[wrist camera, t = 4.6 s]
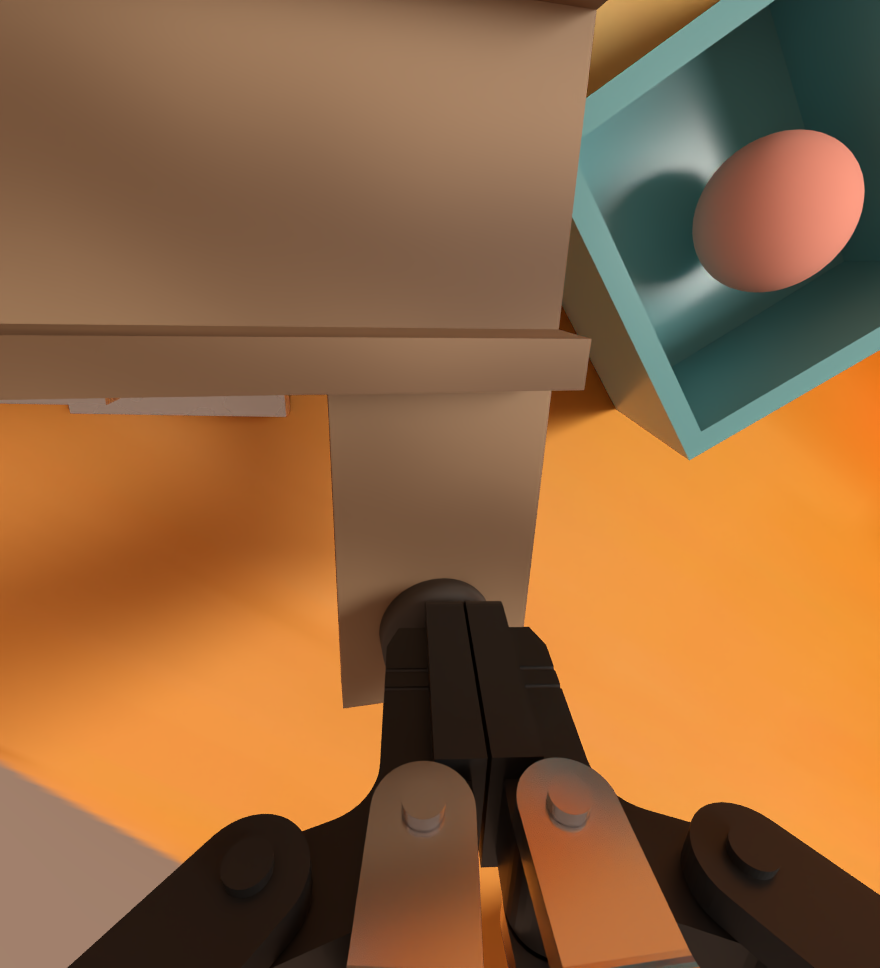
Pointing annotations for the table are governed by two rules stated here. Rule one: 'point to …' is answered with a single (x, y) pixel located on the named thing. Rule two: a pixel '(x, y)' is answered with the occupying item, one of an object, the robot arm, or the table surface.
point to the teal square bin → (671, 206)
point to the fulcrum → (175, 405)
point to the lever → (313, 252)
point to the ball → (778, 210)
